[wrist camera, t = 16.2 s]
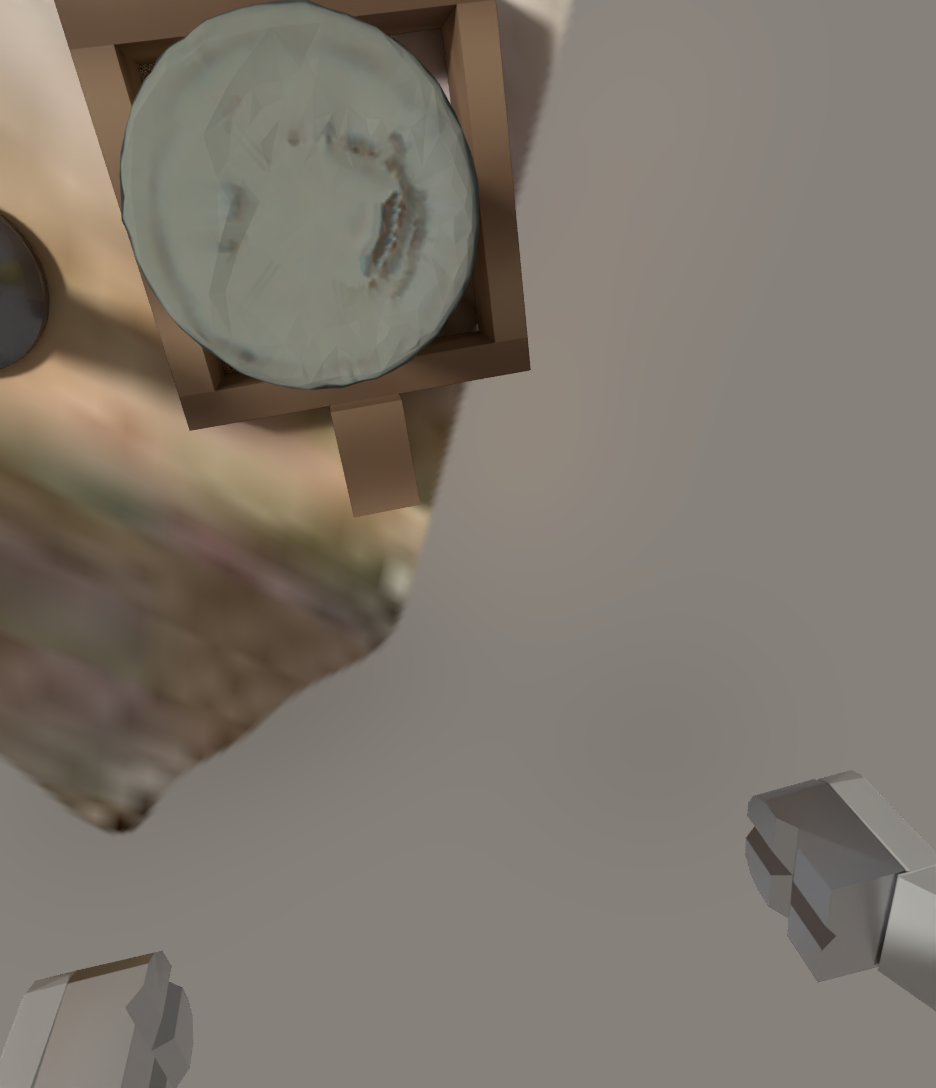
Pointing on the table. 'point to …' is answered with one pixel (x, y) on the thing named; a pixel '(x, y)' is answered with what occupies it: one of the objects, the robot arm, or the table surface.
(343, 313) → the sauce bottle
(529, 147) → the table surface
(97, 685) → the table surface
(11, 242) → the grey plunger shape
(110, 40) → the wooden frame with handle
